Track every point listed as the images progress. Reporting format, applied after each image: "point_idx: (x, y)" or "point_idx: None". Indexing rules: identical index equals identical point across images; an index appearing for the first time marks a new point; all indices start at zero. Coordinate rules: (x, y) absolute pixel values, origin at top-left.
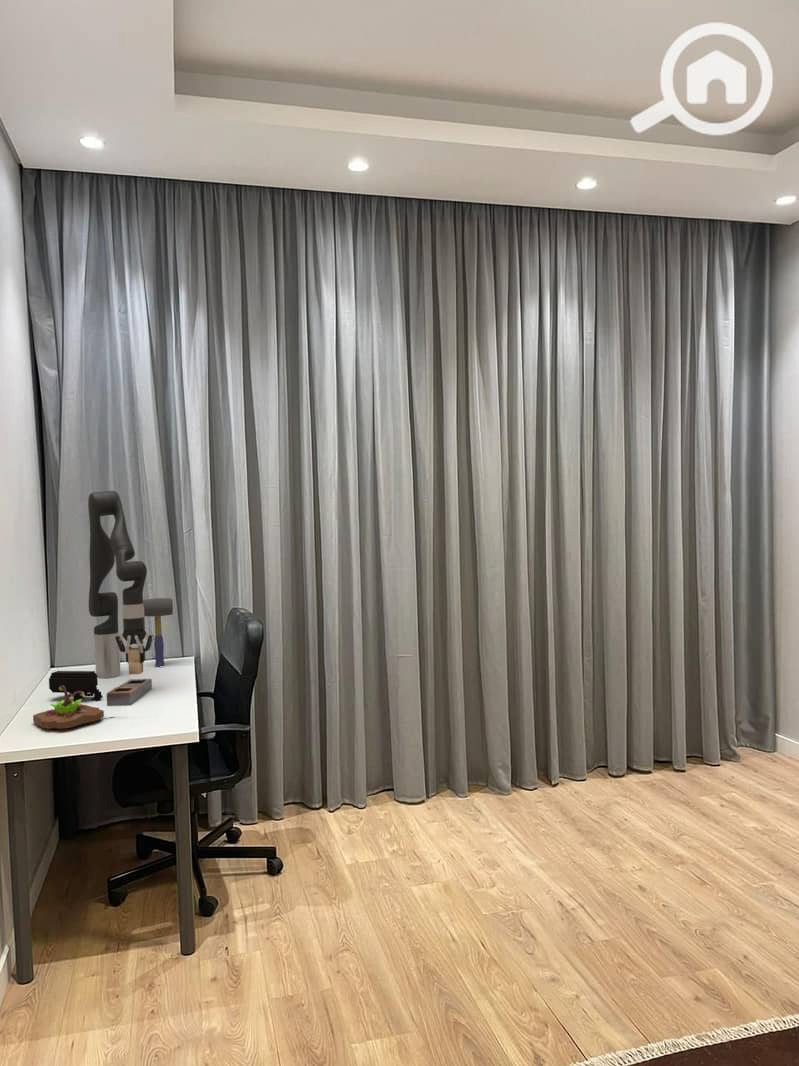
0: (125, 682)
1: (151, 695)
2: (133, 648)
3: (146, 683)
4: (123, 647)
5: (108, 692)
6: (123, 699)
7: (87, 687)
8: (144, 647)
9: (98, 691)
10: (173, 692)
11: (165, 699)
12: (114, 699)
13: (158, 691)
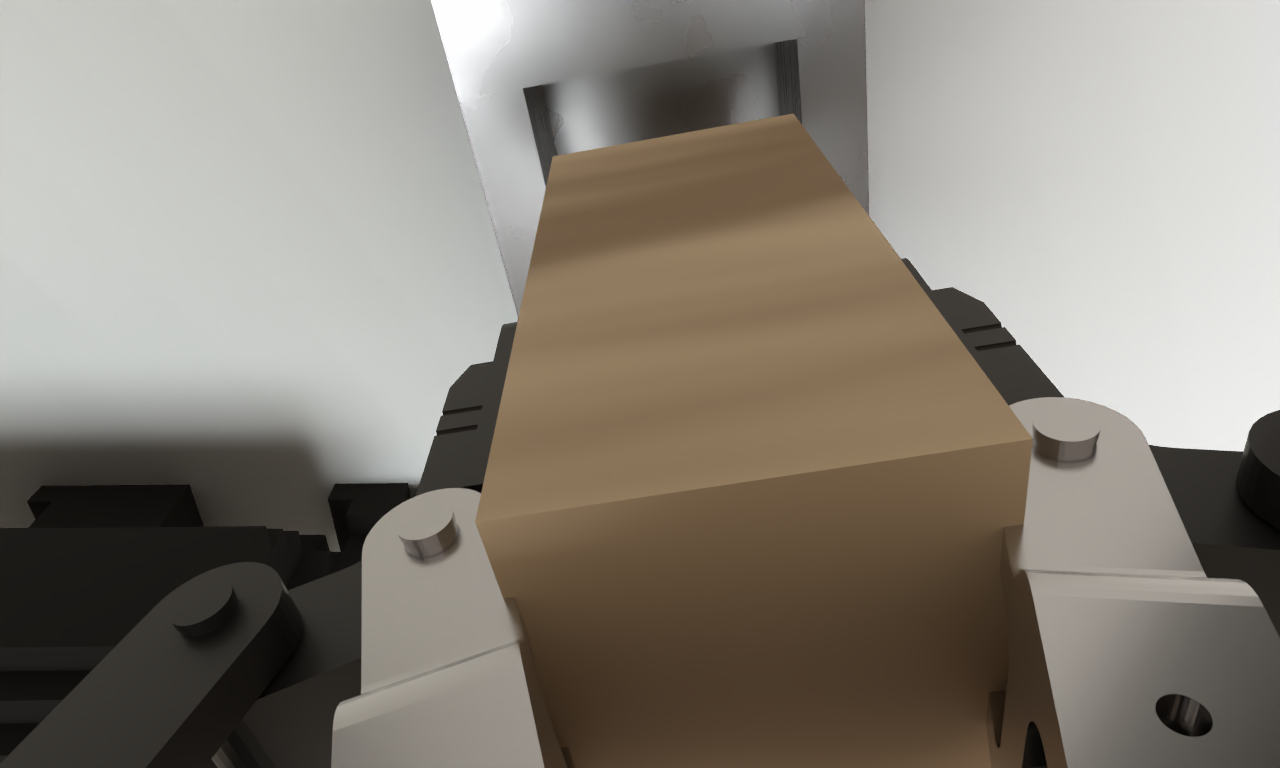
0: (502, 242)
1: (937, 273)
2: (683, 653)
3: (862, 201)
4: (204, 722)
5: None
6: None
7: None
8: (1176, 516)
9: None
10: (1219, 85)
11: (1160, 436)
12: None
13: (969, 28)
